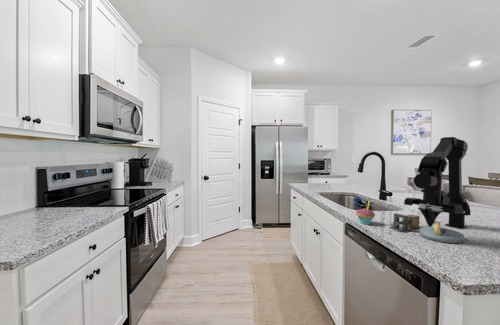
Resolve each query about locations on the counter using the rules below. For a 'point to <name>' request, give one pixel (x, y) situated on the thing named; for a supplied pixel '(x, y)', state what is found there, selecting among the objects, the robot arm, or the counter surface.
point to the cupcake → (365, 215)
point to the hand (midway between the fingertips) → (430, 226)
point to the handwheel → (441, 234)
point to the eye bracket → (404, 223)
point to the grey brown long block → (409, 221)
